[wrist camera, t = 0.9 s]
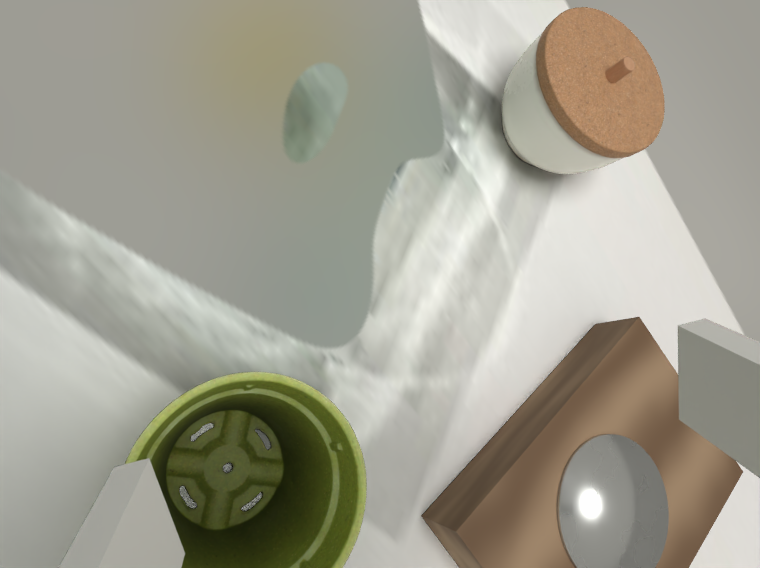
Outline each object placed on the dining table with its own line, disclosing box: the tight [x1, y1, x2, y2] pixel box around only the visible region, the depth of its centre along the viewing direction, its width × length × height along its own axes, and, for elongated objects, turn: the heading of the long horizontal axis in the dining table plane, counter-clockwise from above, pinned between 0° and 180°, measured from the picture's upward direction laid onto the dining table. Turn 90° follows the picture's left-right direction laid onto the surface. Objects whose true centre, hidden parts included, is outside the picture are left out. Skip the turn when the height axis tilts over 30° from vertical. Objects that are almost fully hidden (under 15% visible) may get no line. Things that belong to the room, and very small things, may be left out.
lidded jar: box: [502, 7, 664, 174], centre depth 37 cm, size 11×11×9 cm
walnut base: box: [422, 317, 743, 568], centre depth 34 cm, size 14×20×4 cm
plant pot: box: [125, 372, 367, 568], centre depth 23 cm, size 9×9×9 cm
